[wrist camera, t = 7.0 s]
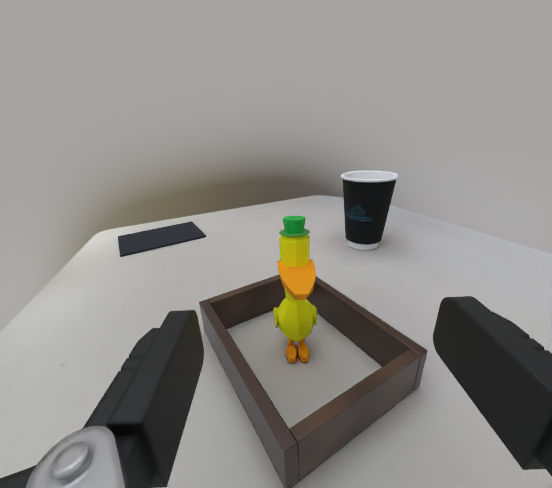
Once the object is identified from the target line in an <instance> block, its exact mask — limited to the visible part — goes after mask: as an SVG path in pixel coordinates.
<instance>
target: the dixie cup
mask: <svg viewBox="0 0 552 488" xmlns="http://www.w3.org/2000/svg"><path fill="white" fill-rule="evenodd" d="M398 177H399V176H398V174H396V173H393V172H386V171H369V170H368V171H352V172H346V173H343V174H342V175H341V178H342V179H343V192H344V212H345V231H346V239H347V243H348V245H349V246H350V247H352V248H354V249H359V250H372V249H375V248H377V247H378V245H379V242H380V241H381V239H382V235H383V231H384V227H385V223H386V219H387V215H388V211H389V206H390V202H391V198H392V194H393V190H394V186H395V182H396V179H398Z"/></svg>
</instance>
